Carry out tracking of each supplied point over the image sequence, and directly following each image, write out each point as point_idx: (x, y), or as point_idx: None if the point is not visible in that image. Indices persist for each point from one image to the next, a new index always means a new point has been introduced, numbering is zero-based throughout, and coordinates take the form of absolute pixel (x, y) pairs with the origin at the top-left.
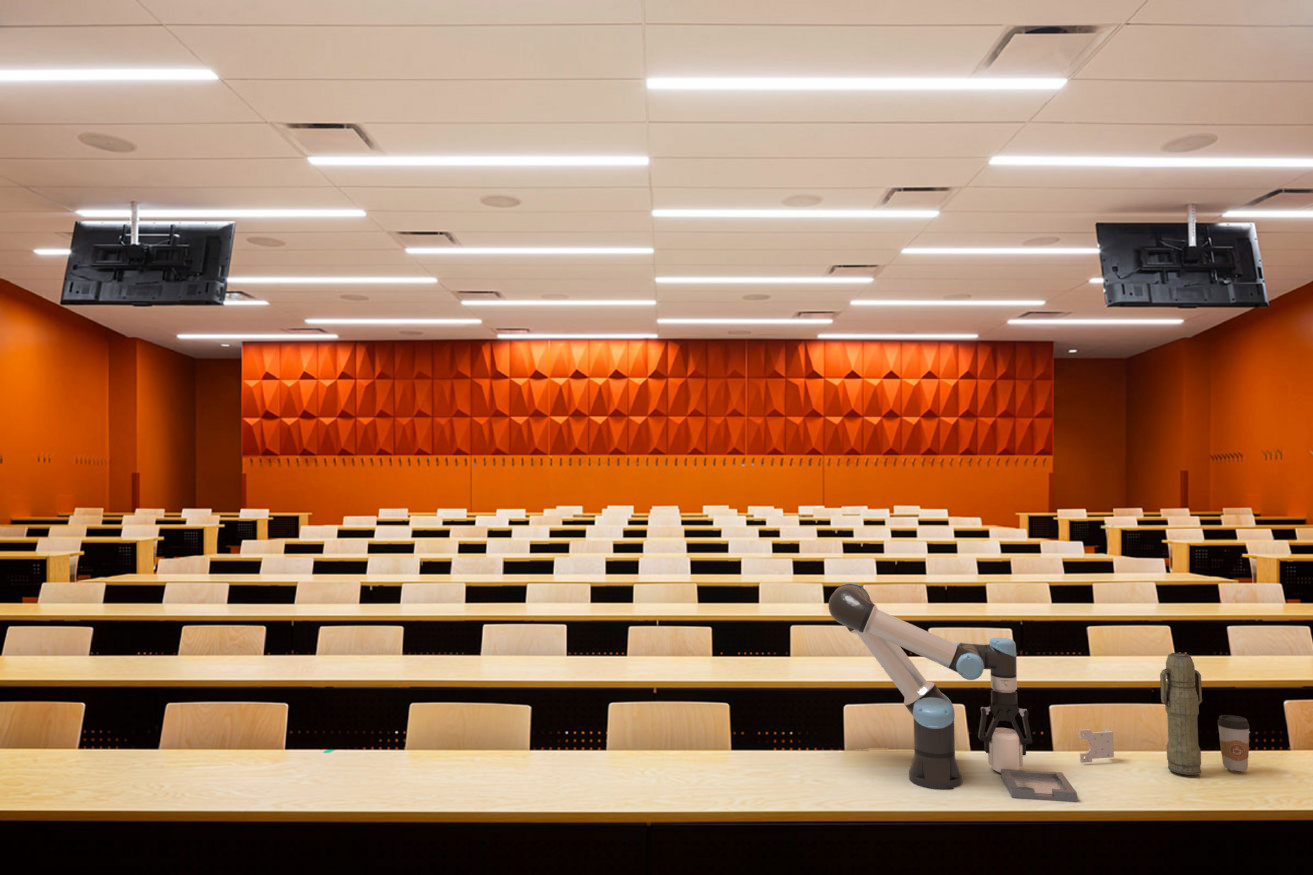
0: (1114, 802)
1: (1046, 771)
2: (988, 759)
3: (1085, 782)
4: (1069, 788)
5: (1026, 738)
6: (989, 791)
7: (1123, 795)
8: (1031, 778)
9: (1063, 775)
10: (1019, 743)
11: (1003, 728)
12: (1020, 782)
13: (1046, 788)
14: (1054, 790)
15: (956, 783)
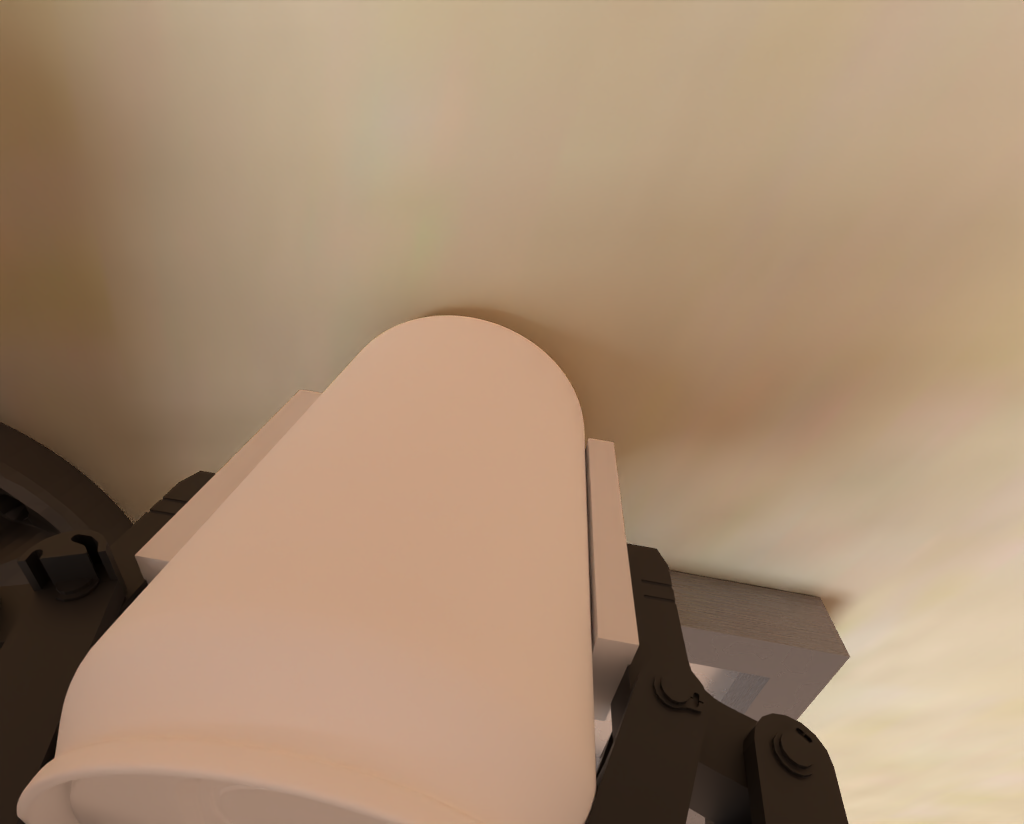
0: (869, 809)
1: (729, 634)
2: (286, 411)
3: (977, 630)
4: (691, 811)
5: (735, 786)
6: None
7: (1015, 773)
8: None
9: (807, 698)
10: (607, 660)
11: (287, 771)
12: None
13: (597, 730)
14: None
15: None
